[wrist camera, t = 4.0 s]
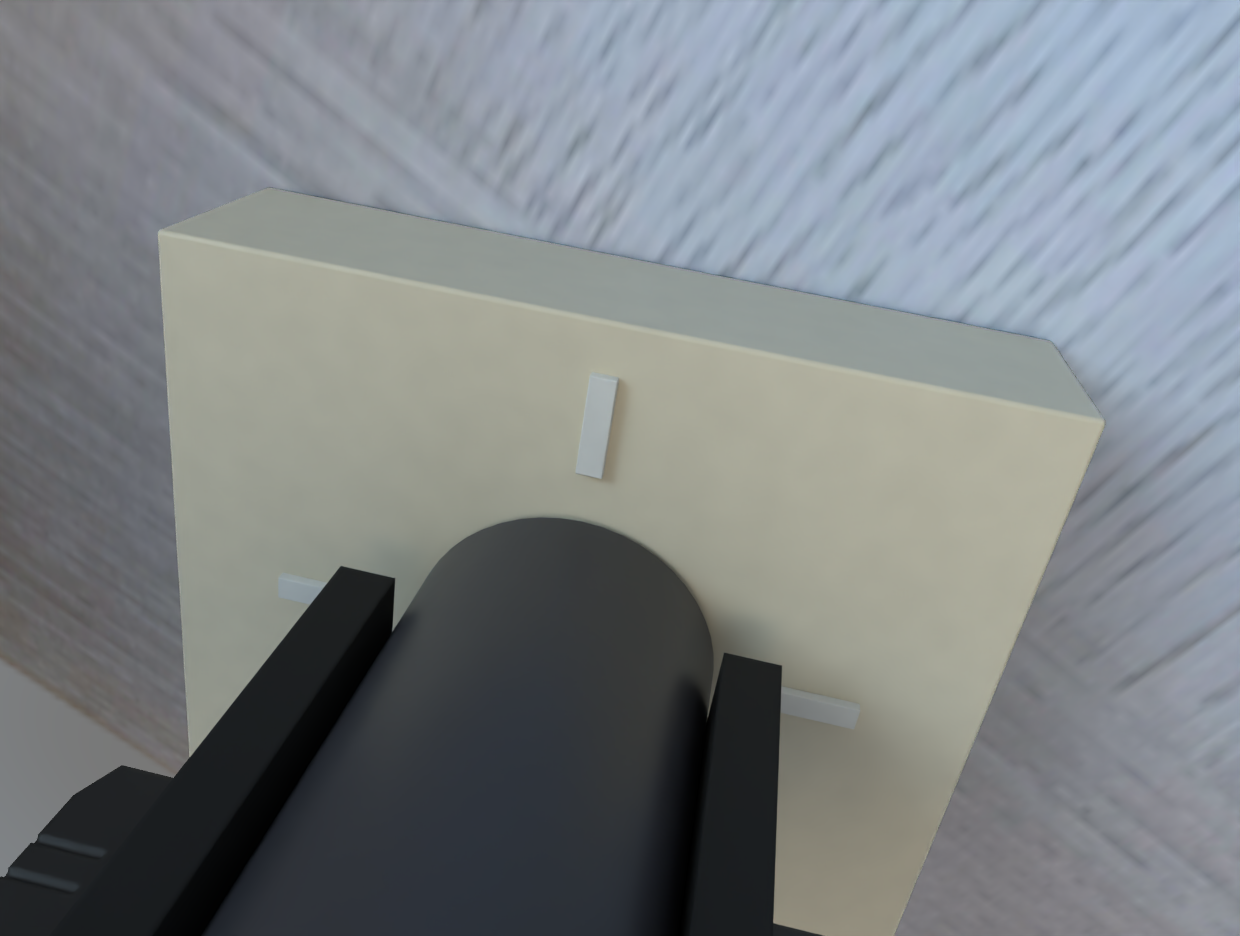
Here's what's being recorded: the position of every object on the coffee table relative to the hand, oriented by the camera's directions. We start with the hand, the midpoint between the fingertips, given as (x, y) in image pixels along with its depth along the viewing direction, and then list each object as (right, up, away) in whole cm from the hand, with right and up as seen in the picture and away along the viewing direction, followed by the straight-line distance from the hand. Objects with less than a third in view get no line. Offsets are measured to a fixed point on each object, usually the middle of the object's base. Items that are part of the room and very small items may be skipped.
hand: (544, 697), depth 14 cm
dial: (0, 0, +1) cm, 1 cm away
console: (+1, +2, +4) cm, 4 cm away
